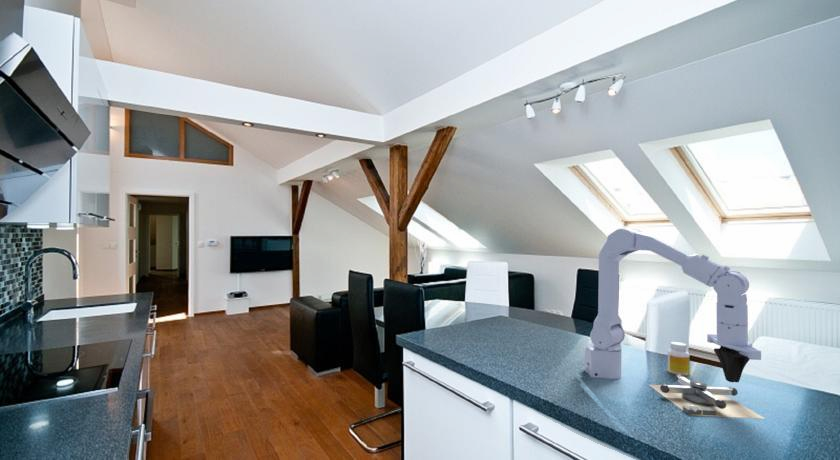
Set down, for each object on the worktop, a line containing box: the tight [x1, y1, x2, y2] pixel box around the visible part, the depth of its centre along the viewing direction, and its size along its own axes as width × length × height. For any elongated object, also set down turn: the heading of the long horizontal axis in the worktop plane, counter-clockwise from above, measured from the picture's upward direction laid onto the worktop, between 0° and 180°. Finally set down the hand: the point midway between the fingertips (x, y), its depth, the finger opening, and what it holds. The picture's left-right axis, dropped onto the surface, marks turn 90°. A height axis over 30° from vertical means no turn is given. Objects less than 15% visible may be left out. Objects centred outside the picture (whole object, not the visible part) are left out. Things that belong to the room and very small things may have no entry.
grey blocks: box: [682, 405, 716, 415], centre depth 88 cm, size 6×2×2 cm, turn 85°
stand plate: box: [648, 384, 766, 420], centre depth 95 cm, size 16×18×1 cm
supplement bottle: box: [667, 341, 691, 377], centre depth 114 cm, size 5×5×10 cm
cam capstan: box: [660, 374, 739, 409], centre depth 96 cm, size 18×18×4 cm
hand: (732, 381), depth 90 cm, fingers closed
